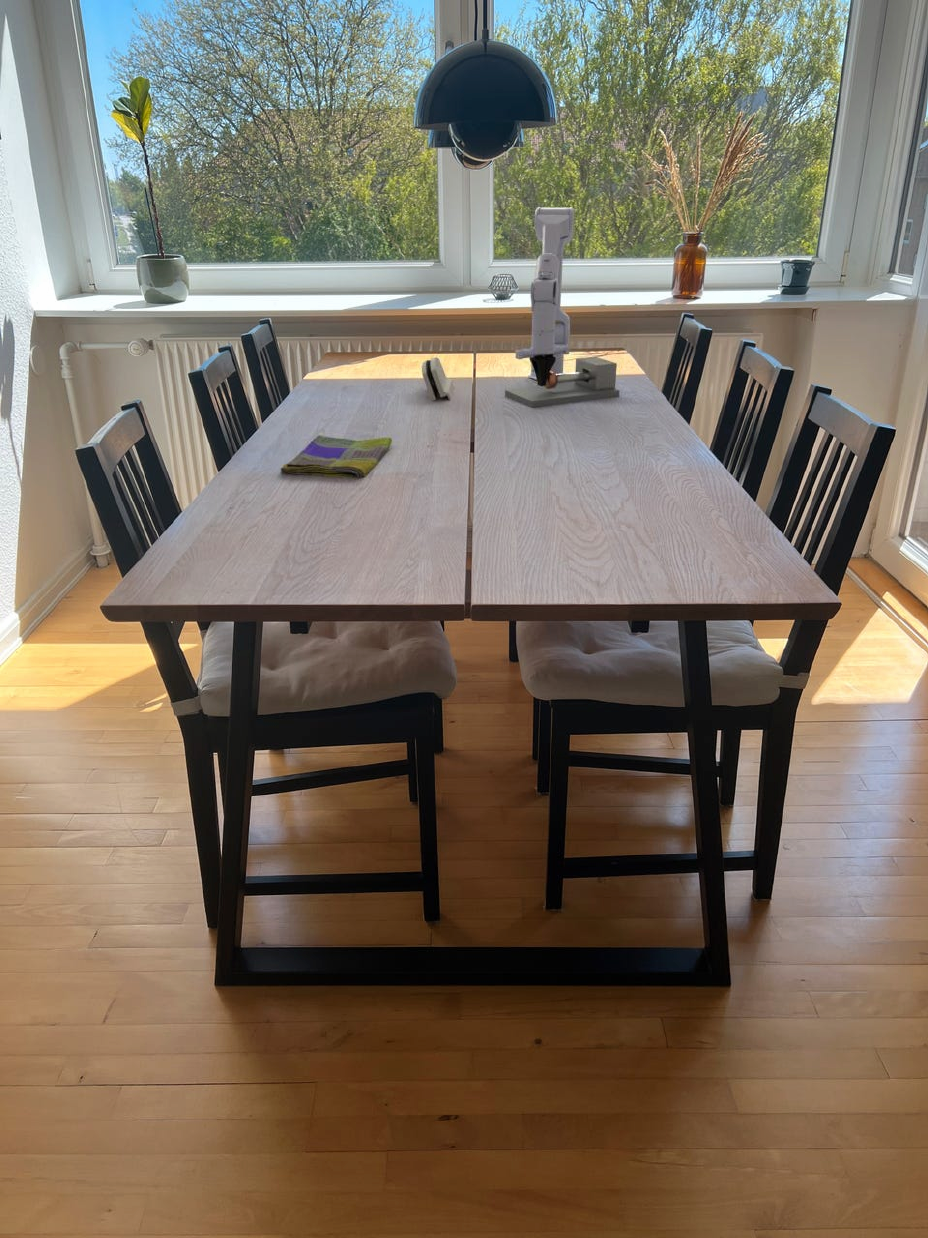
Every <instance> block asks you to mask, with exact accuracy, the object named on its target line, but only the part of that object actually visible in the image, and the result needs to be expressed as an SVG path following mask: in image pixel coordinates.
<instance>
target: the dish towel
mask: <svg viewBox="0 0 928 1238" xmlns="http://www.w3.org/2000/svg"><path fill="white" fill-rule="evenodd" d="M392 441H393V439H392V438H391V437H378V438H372V439H370V438H369V439H365V440H354V439H353V440H352V439H347V438H337V437H330V436H324V435H321V434H319V435H317V436H316V437H315V438H314V439H313V440H312V441H311V442H310V443H309V444H308V445H307V446H306V447H305V448H304V449H303V450H302V451H300V452H299V454H297V455H296V456H295V457H294V458H293V459H292V460H290V461H289V462H288V463H286V464H284V465H283V466H282V467H281V468H280V472H282V473H286V474H294V473H301V474H300V475H307V474H312V475H311V476H320V475H323V476H324V477H331V478H333V477H334V478H343V479H344V478H345V479H361V478H365V477H366V475H368V474H369V473H370V472H371V471H372V470H374V469H375V467H376V466H377V465H378V464H379V462H381V461H382V459H383V457H384V456H385V455H386V453H387V452H388V450H389V448H390V446H391V444H392Z"/></svg>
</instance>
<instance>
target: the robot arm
mask: <svg viewBox="0 0 928 1238" xmlns="http://www.w3.org/2000/svg"><path fill="white" fill-rule="evenodd" d="M574 227H575V209H574V207H572V206H570V207H541V206H538V207H537V208H536V209H535V213H534V231H535V237H536V238H537V241H538V242H541V243H542V250H541V251H542V253H541V254H540V255H539V256H538V257H537V259H536V264H535V272H534V281H531V285H530V303H531V304H530V305H531V307H530V308H531V309H530V310H531V312H532V314H531V315H532V316H531V317H532V318H531V347H527V348H523V349H516V350H515V359H518V360H523V359H529V361H530V374H528V375H527V378H531V379H533V380H535V381H536V382H537V386H546V382H547V379H548V375H549V373H550V371H554V372H555V373H556V374H563V373H564V357H565V355H570V346H569V344H570V340H571V339H570V336H571V322H570V321H571V318H570V316H569V315H568V314H567V313H566V312H565V311H564V310H563V309H562V308H561V302H562V300H561V299H562V298H561V297H562V282H563V281H562V280H563V261H564V260H563V259H564V258H563V256H564V255H563V254H564V250H565V246H566V244H568V243H569V242H572V241H573V237H574Z"/></svg>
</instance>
